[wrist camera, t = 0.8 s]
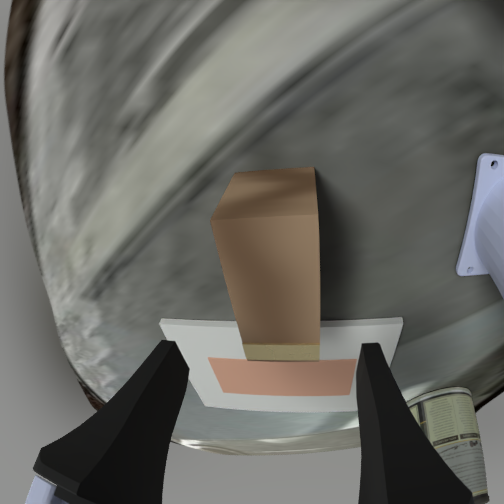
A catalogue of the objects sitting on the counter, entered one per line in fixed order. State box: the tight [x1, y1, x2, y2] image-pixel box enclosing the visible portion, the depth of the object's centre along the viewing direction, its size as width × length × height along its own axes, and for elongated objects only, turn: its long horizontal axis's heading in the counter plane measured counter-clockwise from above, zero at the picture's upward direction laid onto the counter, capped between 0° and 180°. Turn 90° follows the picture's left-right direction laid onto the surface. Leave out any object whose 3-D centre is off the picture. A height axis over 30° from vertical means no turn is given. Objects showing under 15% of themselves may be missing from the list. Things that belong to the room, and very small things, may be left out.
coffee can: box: [407, 387, 489, 504], centre depth 22 cm, size 10×10×14 cm
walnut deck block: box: [210, 167, 320, 362], centre depth 16 cm, size 4×9×5 cm, turn 9°
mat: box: [159, 317, 403, 412], centre depth 25 cm, size 18×14×1 cm
